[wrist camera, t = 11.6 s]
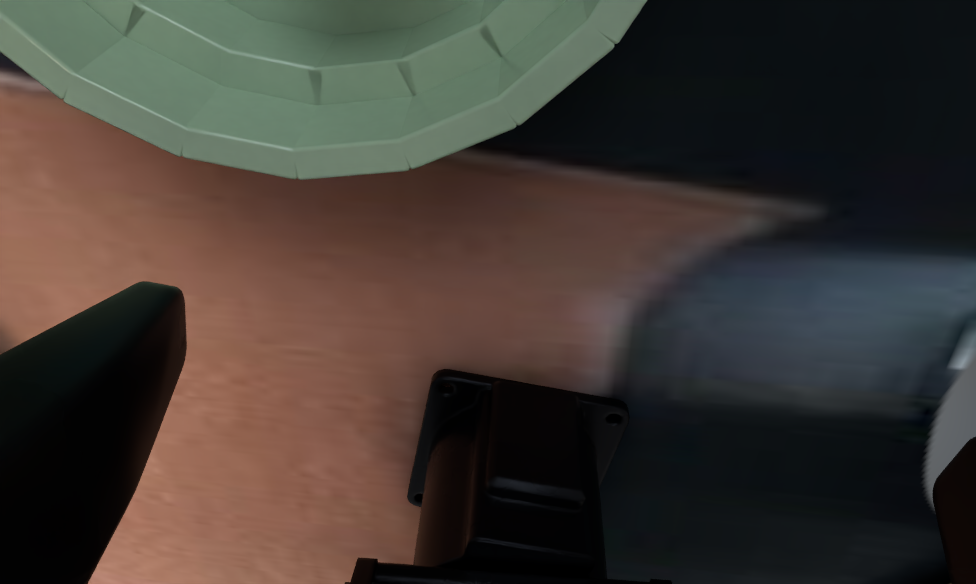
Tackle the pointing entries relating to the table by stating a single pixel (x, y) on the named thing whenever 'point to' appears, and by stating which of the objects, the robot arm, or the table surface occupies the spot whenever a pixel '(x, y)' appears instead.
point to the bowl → (311, 73)
